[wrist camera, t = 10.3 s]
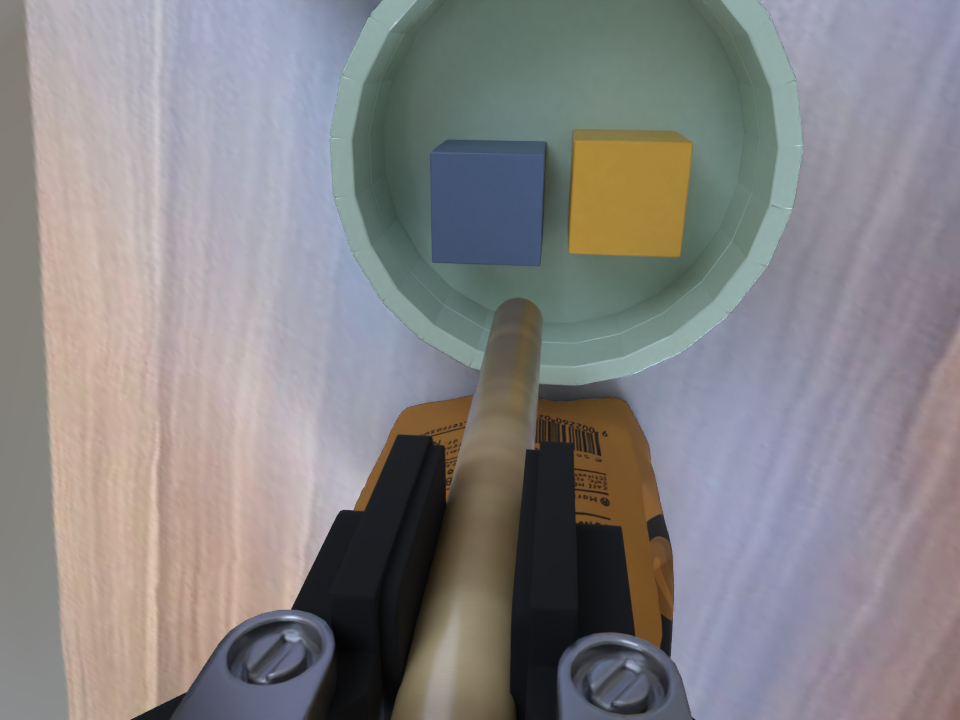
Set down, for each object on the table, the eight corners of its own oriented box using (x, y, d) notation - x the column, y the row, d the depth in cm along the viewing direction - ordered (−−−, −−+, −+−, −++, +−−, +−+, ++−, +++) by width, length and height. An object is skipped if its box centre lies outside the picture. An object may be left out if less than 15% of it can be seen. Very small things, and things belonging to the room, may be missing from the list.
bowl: (358, -67, 28) (313, -94, 23) (790, -71, 27) (844, -99, 22) (377, 327, 34) (344, 375, 29) (732, 342, 33) (763, 395, 28)
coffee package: (651, 564, 37) (756, 1175, 17) (403, 558, 39) (228, 1114, 18) (661, 380, 34) (809, 879, 13) (387, 379, 35) (143, 831, 15)
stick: (495, 290, 22) (355, 798, 7) (544, 291, 22) (506, 812, 7) (494, 336, 22) (362, 898, 7) (542, 337, 22) (505, 915, 7)
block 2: (572, 128, 29) (574, 139, 26) (677, 130, 29) (693, 142, 25) (567, 230, 31) (567, 254, 27) (666, 233, 31) (681, 258, 27)
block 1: (445, 139, 30) (429, 151, 26) (546, 141, 30) (544, 153, 26) (446, 238, 32) (431, 263, 28) (542, 241, 31) (540, 266, 28)
